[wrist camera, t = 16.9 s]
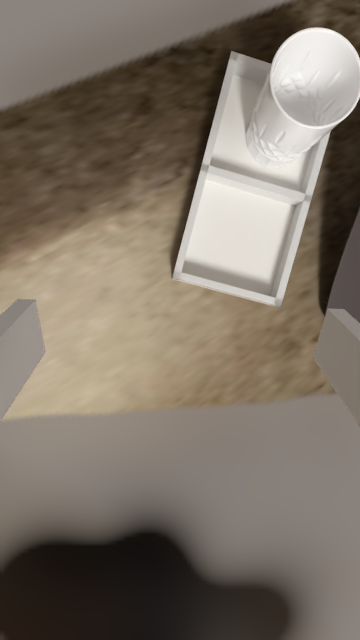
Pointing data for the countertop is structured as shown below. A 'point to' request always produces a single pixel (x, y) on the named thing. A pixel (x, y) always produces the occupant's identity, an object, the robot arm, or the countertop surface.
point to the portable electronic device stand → (348, 275)
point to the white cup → (303, 96)
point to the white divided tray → (245, 201)
